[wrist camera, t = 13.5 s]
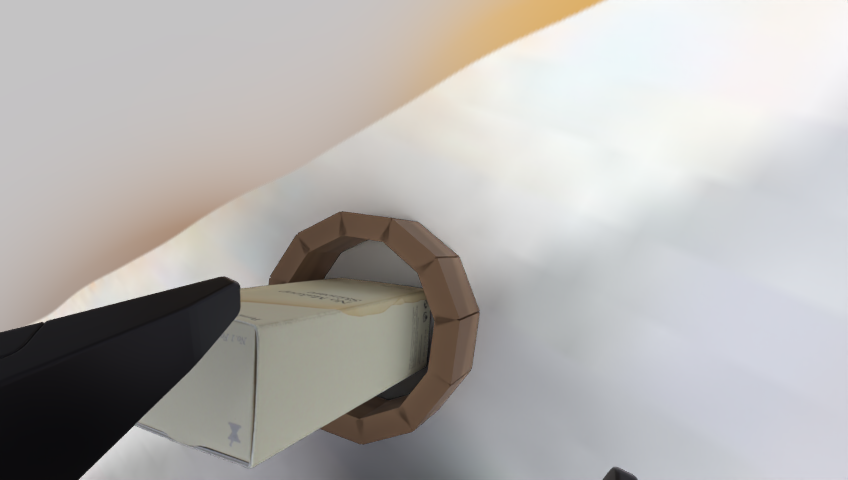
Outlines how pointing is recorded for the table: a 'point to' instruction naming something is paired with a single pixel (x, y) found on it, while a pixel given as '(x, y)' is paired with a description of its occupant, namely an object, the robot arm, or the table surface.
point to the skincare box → (294, 366)
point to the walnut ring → (444, 296)
